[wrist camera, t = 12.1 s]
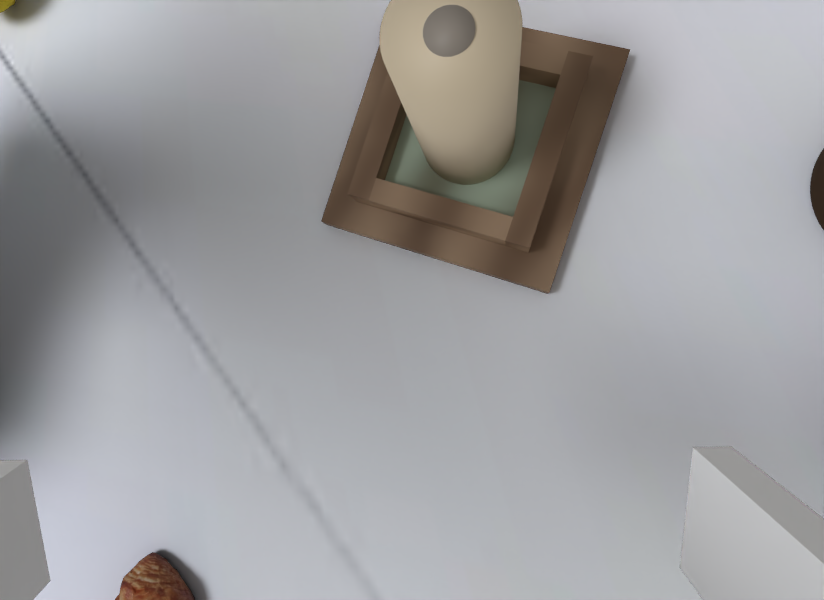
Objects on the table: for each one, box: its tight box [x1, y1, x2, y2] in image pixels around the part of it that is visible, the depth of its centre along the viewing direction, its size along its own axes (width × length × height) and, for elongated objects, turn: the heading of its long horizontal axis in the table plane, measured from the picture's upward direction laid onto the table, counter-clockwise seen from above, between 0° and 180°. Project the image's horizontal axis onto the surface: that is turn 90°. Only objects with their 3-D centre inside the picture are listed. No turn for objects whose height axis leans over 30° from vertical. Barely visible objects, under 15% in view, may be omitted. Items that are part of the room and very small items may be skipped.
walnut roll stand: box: [322, 27, 630, 294], centre depth 33 cm, size 16×16×3 cm
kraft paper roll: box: [379, 0, 522, 185], centre depth 27 cm, size 6×6×12 cm
